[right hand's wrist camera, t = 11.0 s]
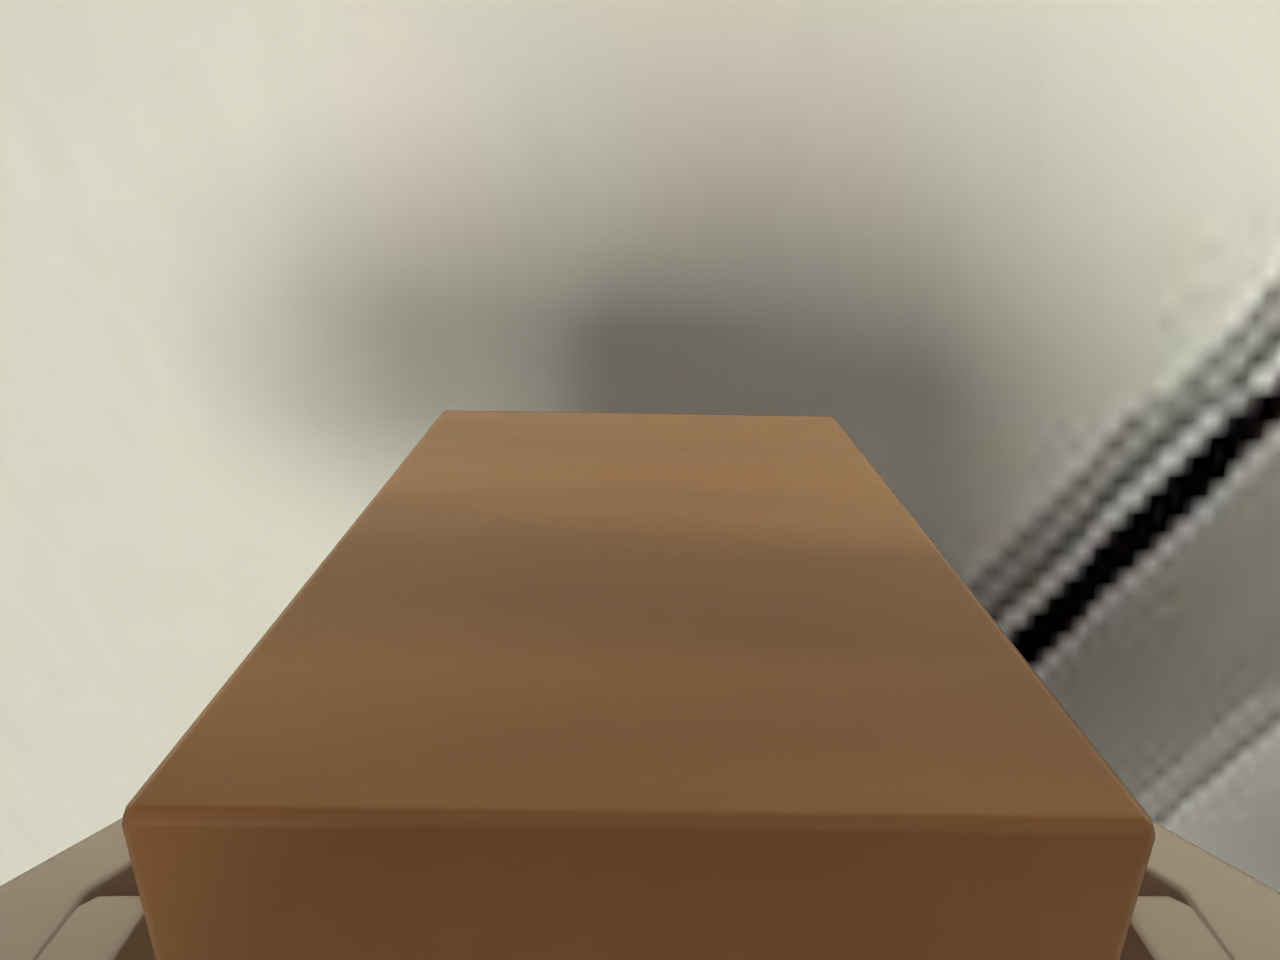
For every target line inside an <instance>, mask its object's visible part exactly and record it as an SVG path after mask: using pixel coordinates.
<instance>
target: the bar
mask: <svg viewBox="0 0 1280 960" xmlns="http://www.w3.org/2000/svg"><path fill="white" fill-rule="evenodd" d="M122 828H123V832H124V836H125V840H126V844H127V848H128V852H129V856H130V860H131V864H132V868H133V872H134V876H135V880H136V884H137V888H138V892H139V895H140V899H141V903H142V907H143V911H144V915H145V919H146V923H147V927H148V931H149V935H150V939H151V943H152V947H153V951H154V955H155V959H156V960H1119V959H1120V956H1121V952H1122V949H1123V945H1124V942H1125V939H1126V935H1127V932H1128V929H1129V925H1130V922H1131V918H1132V915H1133V912H1134V908H1135V905H1136V902H1137V898H1138V895H1139V891H1140V888H1141V885H1142V881H1143V878H1144V875H1145V871H1146V868H1147V864H1148V861H1149V858H1150V854H1151V851H1152V847H1153V844H1154V841H1155V830H1154V825H1153V822H1152V819H1151V818H1150V816H1149V815H1148V814H1147V813H1146V811H1145V810H1144V809H1143V808H1142V806H1141V805H1140V804H1139V803H1138V801H1137V800H1136V799H1135V797H1134V796H1133V795H1132V794H1131V792H1130V791H1129V790H1128V789H1127V787H1126V786H1125V785H1124V784H1123V782H1122V781H1121V780H1120V779H1119V777H1118V776H1117V775H1116V773H1115V772H1114V771H1113V770H1112V768H1111V767H1110V766H1109V765H1108V763H1107V762H1106V761H1105V760H1104V758H1103V757H1102V756H1101V754H1100V753H1099V752H1098V751H1097V749H1096V748H1095V747H1094V746H1093V744H1092V743H1091V742H1090V741H1089V739H1088V738H1087V737H1086V736H1085V734H1084V733H1083V732H1082V730H1081V729H1080V728H1079V727H1078V725H1077V724H1076V723H1075V722H1074V720H1073V719H1072V718H1071V717H1070V715H1069V714H1068V713H1067V711H1066V710H1065V709H1064V708H1063V706H1062V705H1061V704H1060V703H1059V701H1058V700H1057V699H1056V698H1055V696H1054V695H1053V694H1052V693H1051V691H1050V690H1049V689H1048V687H1047V686H1046V685H1045V684H1044V682H1043V681H1042V680H1041V679H1040V677H1039V676H1038V675H1037V674H1036V672H1035V671H1034V670H1033V668H1032V667H1031V666H1030V665H1029V663H1028V662H1027V661H1026V660H1025V658H1024V657H1023V656H1022V655H1021V653H1020V652H1019V651H1018V650H1017V648H1016V647H1015V646H1014V644H1013V643H1012V642H1011V641H1010V639H1009V638H1008V637H1007V636H1006V634H1005V633H1004V632H1003V631H1002V629H1001V628H1000V627H999V626H998V624H997V623H996V622H995V620H994V619H993V618H992V617H991V615H990V614H989V613H988V612H987V610H986V609H985V608H984V607H983V605H982V604H981V603H980V601H979V600H978V599H977V598H976V596H975V595H974V594H973V593H972V591H971V590H970V589H969V588H968V586H967V585H966V584H965V583H964V581H963V580H962V579H961V577H960V576H959V575H958V574H957V572H956V571H955V570H954V569H953V567H952V566H951V565H950V564H949V562H948V561H947V560H946V558H945V557H944V556H943V555H942V553H941V552H940V551H939V550H938V548H937V547H936V546H935V545H934V543H933V542H932V541H931V540H930V538H929V537H928V536H927V534H926V533H925V532H924V531H923V529H922V528H921V527H920V526H919V524H918V523H917V522H916V521H915V519H914V518H913V517H912V515H911V514H910V513H909V512H908V510H907V509H906V508H905V507H904V505H903V504H902V503H901V502H900V500H899V499H898V498H897V497H896V495H895V494H894V493H893V491H892V490H891V489H890V488H889V486H888V485H887V484H886V483H885V481H884V480H883V479H882V478H881V476H880V475H879V474H878V472H877V471H876V470H875V469H874V467H873V466H872V465H871V464H870V462H869V461H868V460H867V459H866V457H865V456H864V455H863V454H862V452H861V451H860V450H859V448H858V447H857V446H856V445H855V443H854V442H853V441H852V440H851V438H850V437H849V436H848V435H847V433H846V432H845V431H844V430H843V428H842V427H841V426H840V424H839V423H838V422H837V421H836V419H835V418H833V417H829V416H766V415H703V414H640V413H577V412H515V411H452V410H448V411H445V412H443V413H442V414H441V416H440V417H439V418H438V419H437V420H436V422H435V423H434V424H433V425H432V427H431V428H430V429H429V430H428V432H427V433H426V434H425V435H424V437H423V438H422V439H421V440H420V442H419V443H418V444H417V445H416V447H415V448H414V449H413V450H412V452H411V453H410V454H409V455H408V457H407V458H406V459H405V460H404V462H403V463H402V464H401V465H400V467H399V468H398V469H397V470H396V471H395V473H394V474H393V475H392V476H391V478H390V479H389V480H388V481H387V483H386V484H385V485H384V486H383V488H382V489H381V490H380V491H379V493H378V494H377V495H376V496H375V498H374V499H373V500H372V501H371V503H370V504H369V505H368V506H367V508H366V509H365V510H364V511H363V513H362V514H361V515H360V516H359V518H358V519H357V520H356V521H355V522H354V524H353V525H352V526H351V527H350V529H349V530H348V531H347V532H346V534H345V535H344V536H343V537H342V539H341V540H340V541H339V542H338V544H337V545H336V546H335V547H334V549H333V550H332V551H331V552H330V554H329V555H328V556H327V557H326V559H325V560H324V561H323V562H322V564H321V565H320V566H319V567H318V569H317V570H316V571H315V572H314V574H313V575H312V576H311V577H310V578H309V580H308V581H307V582H306V583H305V585H304V586H303V587H302V588H301V590H300V591H299V592H298V593H297V595H296V596H295V597H294V598H293V600H292V601H291V602H290V603H289V605H288V606H287V607H286V608H285V610H284V611H283V612H282V613H281V615H280V616H279V617H278V618H277V620H276V621H275V622H274V623H273V625H272V626H271V627H270V628H269V629H268V631H267V632H266V633H265V634H264V636H263V637H262V638H261V639H260V641H259V642H258V643H257V644H256V646H255V647H254V648H253V649H252V651H251V652H250V653H249V654H248V656H247V657H246V658H245V659H244V661H243V662H242V663H241V664H240V666H239V667H238V668H237V669H236V671H235V672H234V673H233V674H232V676H231V677H230V678H229V679H228V681H227V682H226V683H225V684H224V685H223V687H222V688H221V689H220V690H219V692H218V693H217V694H216V695H215V697H214V698H213V699H212V700H211V702H210V703H209V704H208V705H207V707H206V708H205V709H204V710H203V712H202V713H201V714H200V715H199V717H198V718H197V719H196V720H195V722H194V723H193V724H192V725H191V727H190V728H189V729H188V730H187V732H186V733H185V734H184V735H183V736H182V738H181V739H180V740H179V741H178V743H177V744H176V745H175V746H174V748H173V749H172V750H171V751H170V753H169V754H168V755H167V756H166V758H165V759H164V760H163V761H162V763H161V764H160V765H159V766H158V768H157V769H156V770H155V771H154V773H153V774H152V775H151V776H150V778H149V779H148V780H147V781H146V783H145V784H144V785H143V786H142V788H141V789H140V790H139V791H138V792H137V794H136V795H135V796H134V797H133V799H132V800H131V801H130V802H129V804H128V805H127V806H126V809H125V812H124V815H123V820H122Z"/></svg>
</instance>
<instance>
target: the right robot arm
mask: <svg viewBox="0 0 1280 960" xmlns="http://www.w3.org/2000/svg"><path fill="white" fill-rule="evenodd" d="M122 820H123V818H122V819H120V820H118V821H116V822H114V823H113V824H111V825H109V826H107V827H105V828H104V829H102V830H100V831H98V832H96V833H95V834H93V835H91V836H89V837H88V838H86V839H84V840H82V841H80V842H79V843H77V844H75V845H73V846H71V847H70V848H68V849H66V850H64V851H63V852H61V853H59V854H57V855H55V856H54V857H52V858H50V859H48V860H46V861H45V862H43V863H41V864H39V865H37V866H36V867H34V868H32V869H30V870H29V871H27V872H25V873H23V874H21V875H20V876H18V877H16V878H14V879H12V880H11V881H9V882H7V883H5V884H4V885H2V886H0V960H156V959H155V955H154V951H153V947H152V943H151V939H150V935H149V931H148V927H147V923H146V919H145V915H144V911H143V907H142V903H141V899H140V895H139V892H138V888H137V884H136V880H135V876H134V872H133V868H132V864H131V860H130V856H129V852H128V848H127V844H126V840H125V836H124V832H123V828H122ZM1152 822H1153V821H1152ZM1153 825H1154V830H1155V841H1154V844H1153V847H1152V851H1151V854H1150V858H1149V861H1148V864H1147V868H1146V871H1145V875H1144V878H1143V881H1142V885H1141V888H1140V891H1139V895H1138V898H1137V902H1136V905H1135V908H1134V912H1133V915H1132V918H1131V922H1130V925H1129V929H1128V932H1127V935H1126V939H1125V942H1124V945H1123V949H1122V952H1121V956H1120V959H1119V960H1280V893H1279V892H1277V891H1275V890H1273V889H1272V888H1270V887H1268V886H1266V885H1265V884H1263V883H1261V882H1259V881H1258V880H1256V879H1254V878H1252V877H1251V876H1249V875H1247V874H1245V873H1243V872H1242V871H1240V870H1238V869H1236V868H1235V867H1233V866H1231V865H1229V864H1228V863H1226V862H1224V861H1222V860H1221V859H1219V858H1217V857H1215V856H1213V855H1212V854H1210V853H1208V852H1206V851H1205V850H1203V849H1201V848H1199V847H1198V846H1196V845H1194V844H1192V843H1191V842H1189V841H1187V840H1185V839H1183V838H1182V837H1180V836H1178V835H1176V834H1175V833H1173V832H1171V831H1169V830H1168V829H1166V828H1164V827H1162V826H1161V825H1159V824H1157V823H1155V822H1153Z"/></svg>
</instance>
